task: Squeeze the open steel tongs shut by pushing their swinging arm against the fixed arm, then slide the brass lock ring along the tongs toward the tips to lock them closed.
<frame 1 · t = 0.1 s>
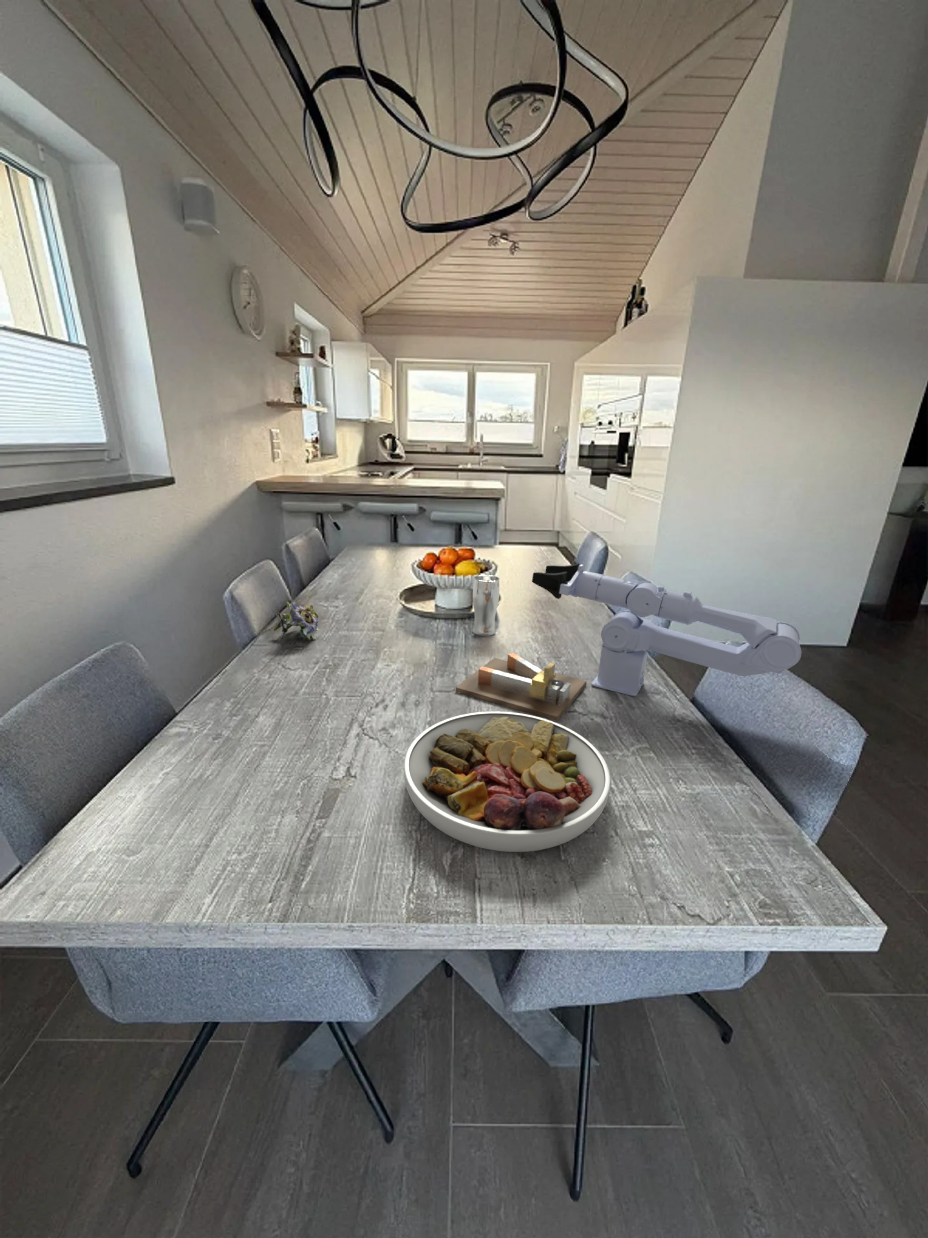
hand: (539, 573, 116), 22 cm above the table, tool horizontal, fingers open, 7 cm apart
beer glass: (484, 632, 142), on the table
hinged tong arm: (534, 674, 111), point 3 cm above the table, hinge at -30.0°
walnut board: (522, 688, 111), on the table
passion flower: (297, 639, 133), on the table
bowl: (504, 790, 80), on the table
brass lock ring: (543, 678, 104), point 5 cm above the table, slide at 0.0 cm
fixed tong arm: (516, 696, 107), resting on walnut board
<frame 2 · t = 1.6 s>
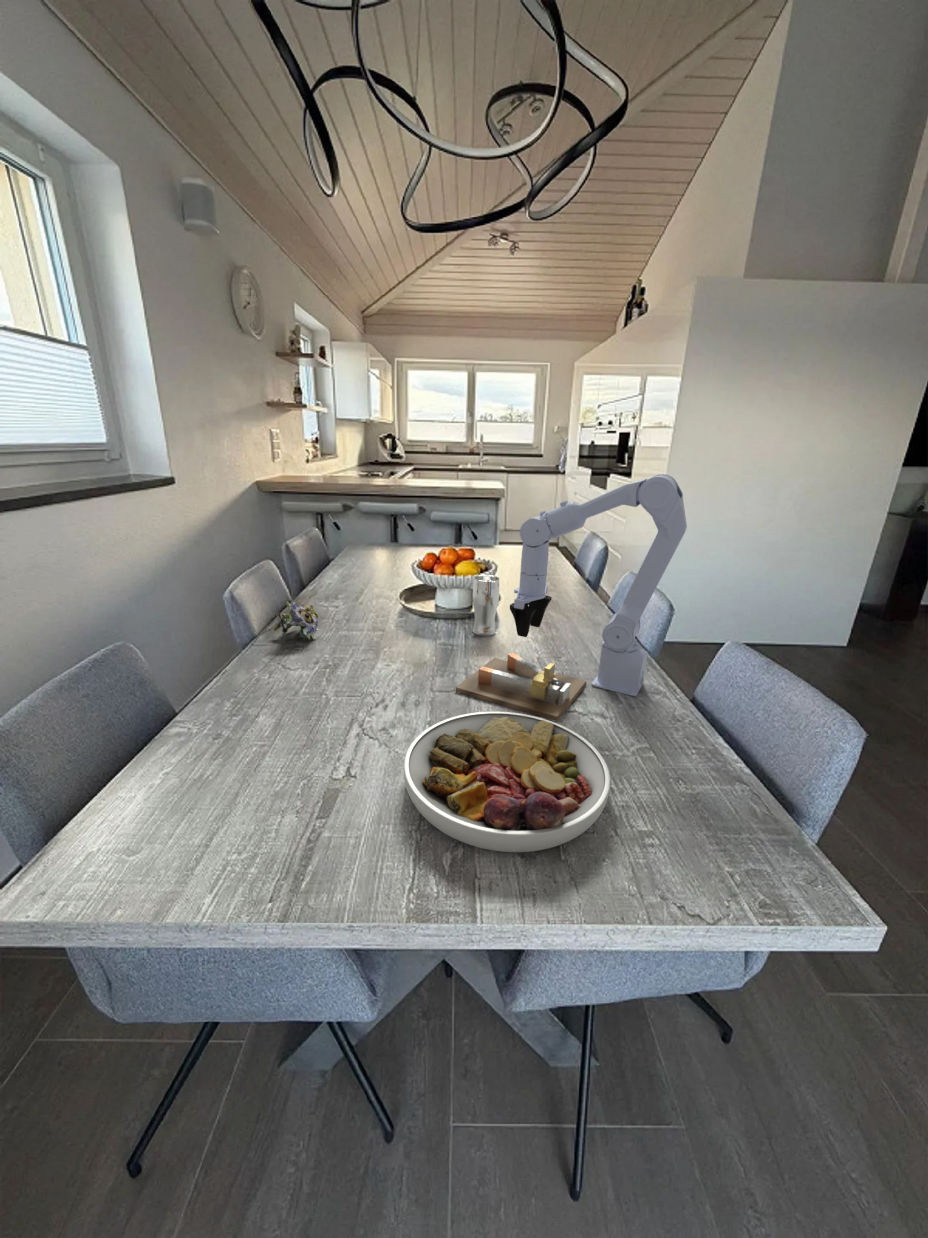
hand: (528, 630, 119), 8 cm above the table, tool pointing down, fingers open, 7 cm apart
nothing on the table moved.
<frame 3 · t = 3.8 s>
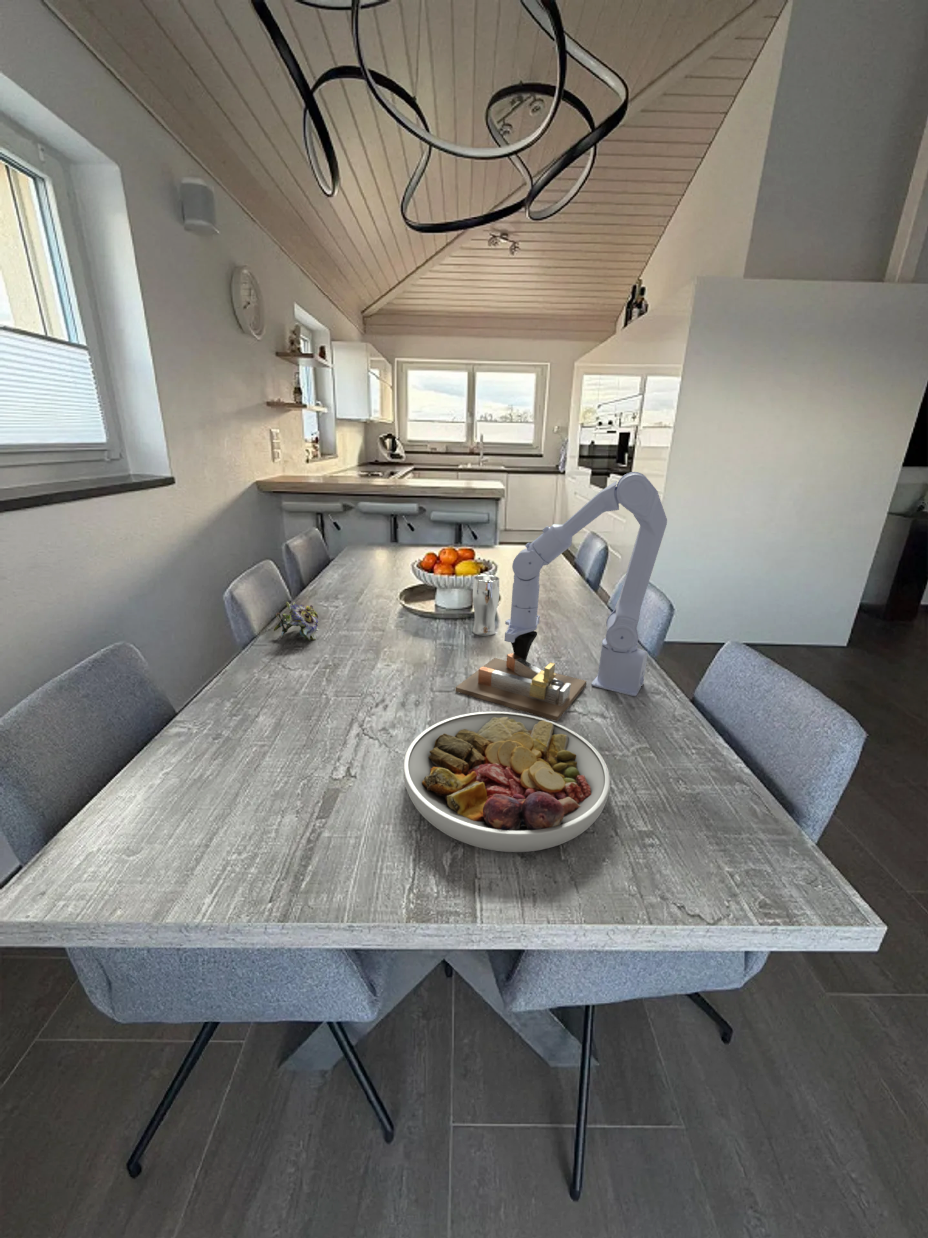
hand: (520, 662, 119), 2 cm above the table, tool pointing down, fingers closed
hinged tong arm: (533, 674, 111), point 3 cm above the table, hinge at -29.2°, touching gripper
everything else where it was.
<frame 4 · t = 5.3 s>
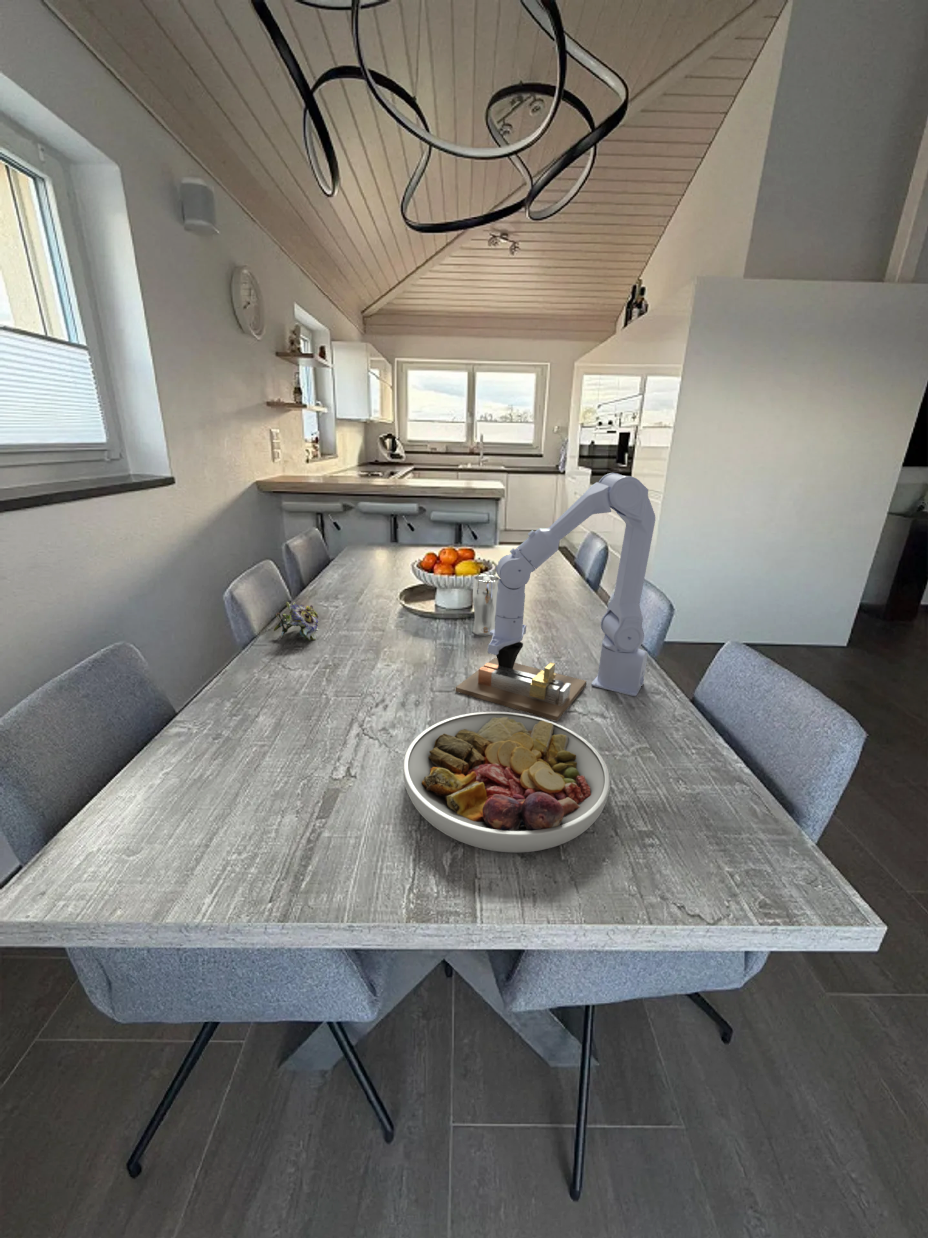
hand: (505, 674, 112), 2 cm above the table, tool pointing down, fingers closed
hinged tong arm: (522, 680, 108), point 3 cm above the table, hinge at 0.3°, touching gripper
everything else where it was.
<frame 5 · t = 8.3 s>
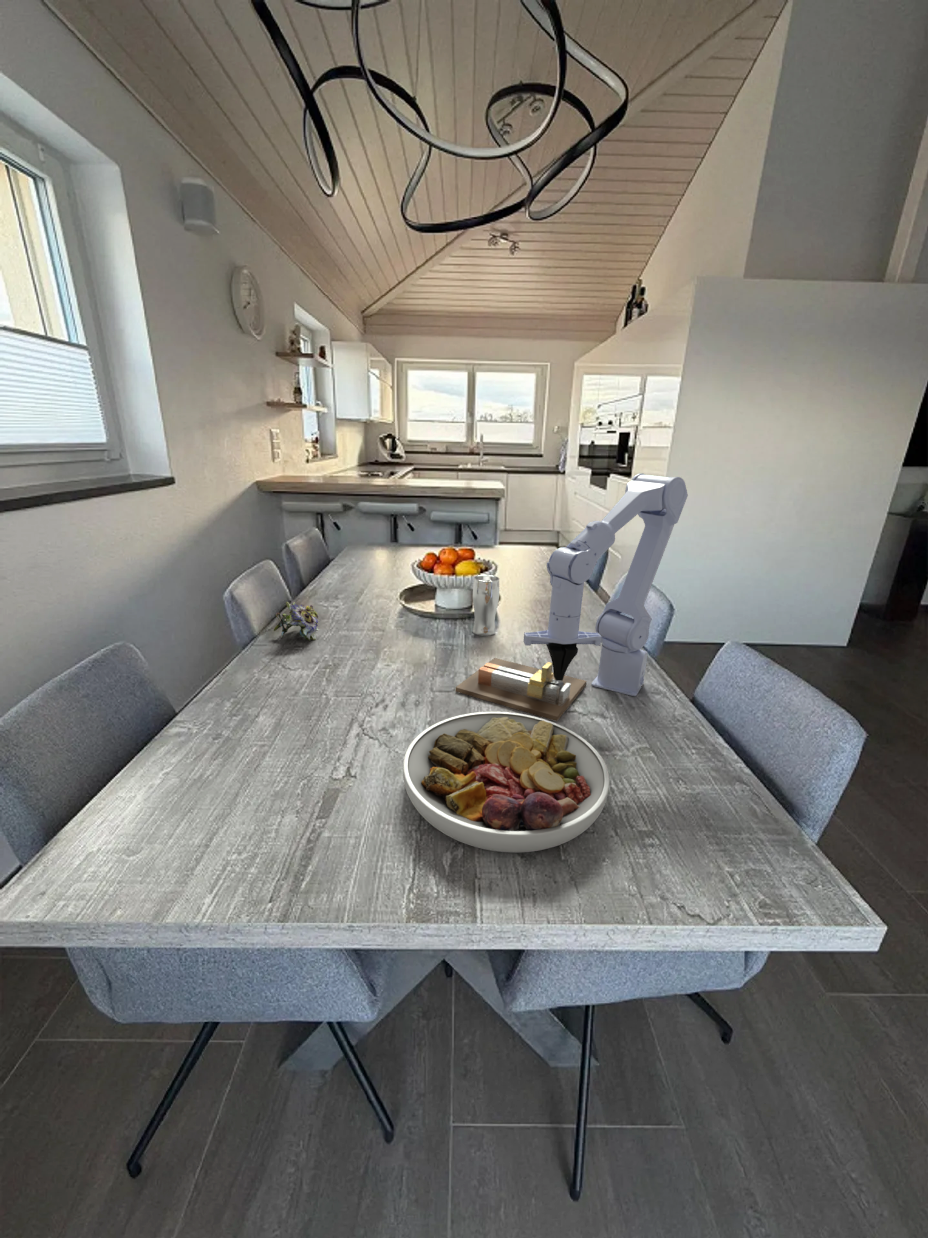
hand: (558, 678, 103), 6 cm above the table, tool pointing down, fingers closed
hinged tong arm: (522, 680, 108), point 3 cm above the table, hinge at 0.3°
brass lock ring: (540, 678, 104), point 5 cm above the table, slide at 0.5 cm, touching gripper
everything else where it was.
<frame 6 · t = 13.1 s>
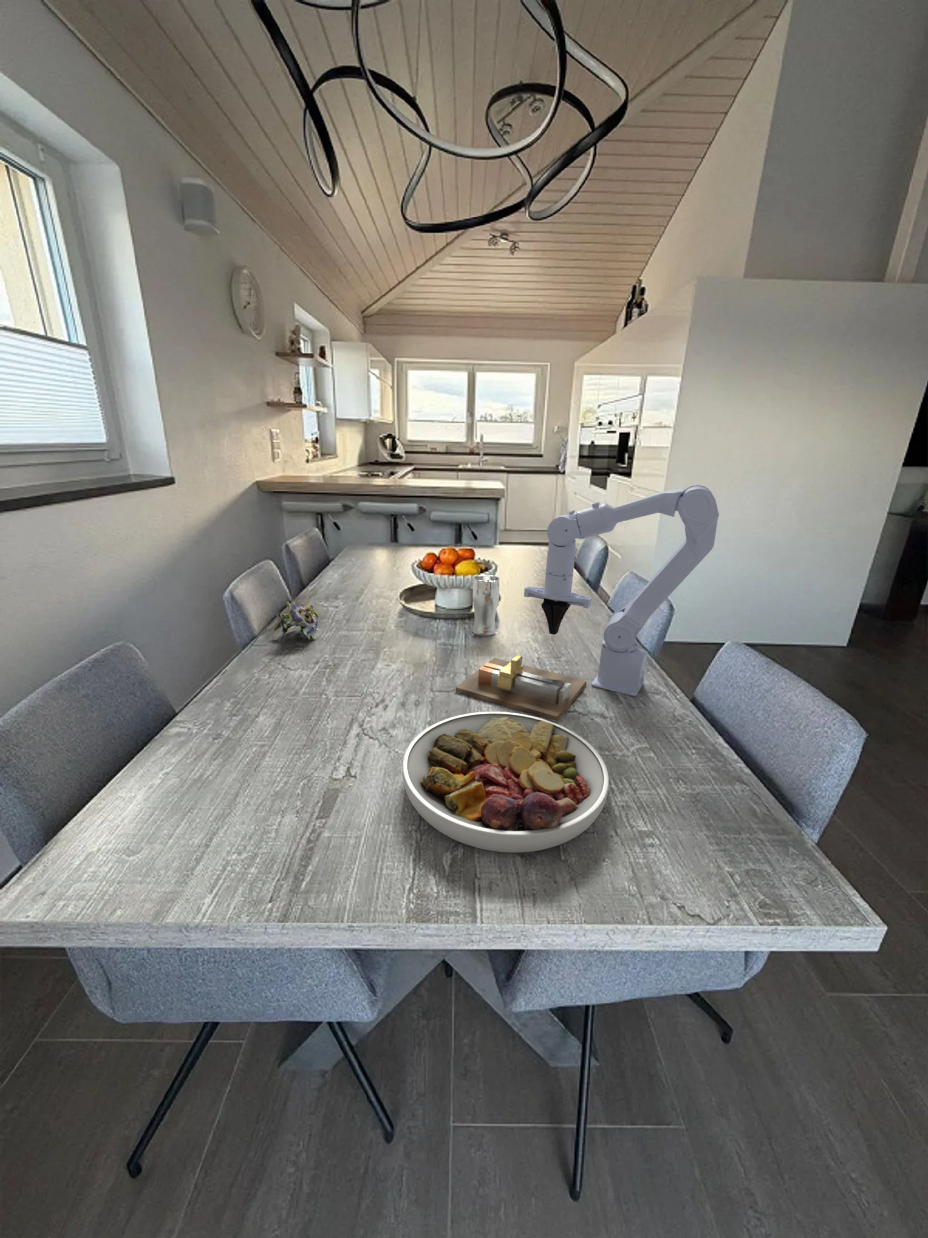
hand: (553, 633, 116), 9 cm above the table, tool pointing down, fingers closed
brass lock ring: (510, 670, 107), point 5 cm above the table, slide at 7.1 cm
everything else where it was.
at the end: hinged tong arm at +0° (first picture: -30°); brass lock ring slide at 7.1 cm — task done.
